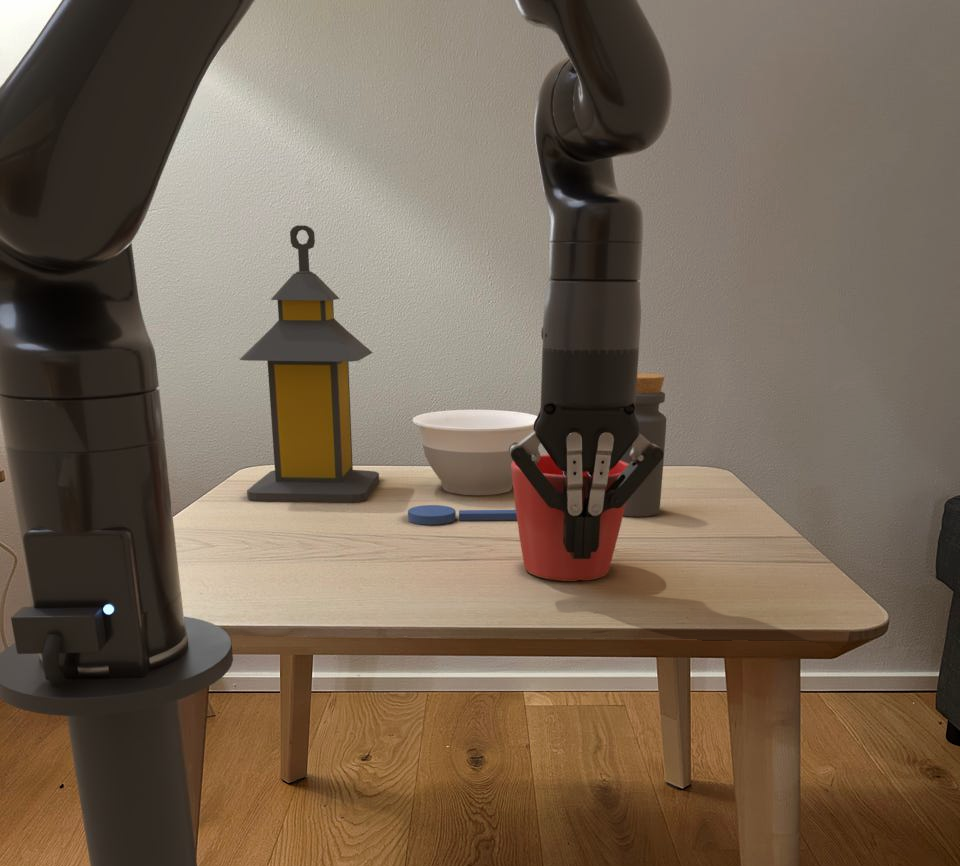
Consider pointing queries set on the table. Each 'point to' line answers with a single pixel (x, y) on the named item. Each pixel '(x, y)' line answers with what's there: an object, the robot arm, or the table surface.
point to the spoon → (454, 515)
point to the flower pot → (560, 528)
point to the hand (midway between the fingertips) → (580, 556)
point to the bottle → (654, 431)
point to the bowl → (473, 447)
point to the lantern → (310, 394)
